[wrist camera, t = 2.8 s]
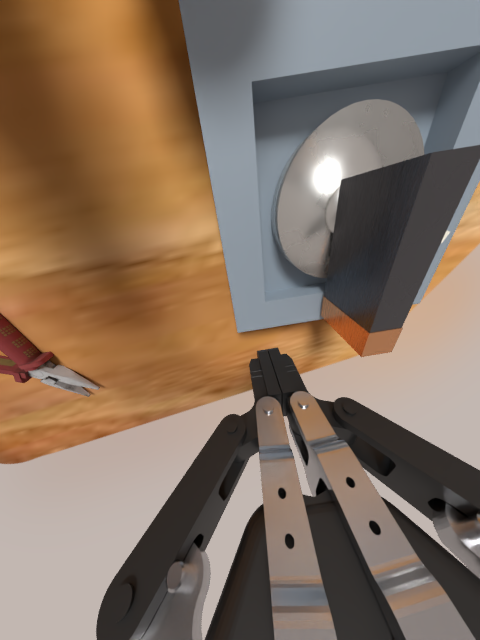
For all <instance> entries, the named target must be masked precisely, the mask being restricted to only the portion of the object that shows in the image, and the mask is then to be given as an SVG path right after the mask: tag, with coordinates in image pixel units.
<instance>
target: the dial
mask: <svg viewBox="0 0 480 640" xmlns="http://www.w3.org/2000/svg"><path fill="white" fill-rule="evenodd" d="M479 160H480V145H475V146H469V147H463V148H457V149H451V150H444V151H438V152H432V153H429V154H425V155H424V145H423V139H422V136H421V133H420V130H419V127H418V125H417V124H416V122H415V120H414V118H413V117H412V116H411V115H410V114H409V113H408V111H406V110H405V109H404V108H402V107H401V106H400V105H398V104H396V103H393V102H391V101H387V100H381V99H372V100H364V101H360V102H356V103H353V104H351V105H349V106H347V107H345V108H342V109H341V110H339V111H338V112H336V113H335V114H333V115H331V116H330V117H329V118H328V119H327V120H325V121H324V122H323V123H322V124H321V125H319V126H318V127H317V128H316V129H315V130H314V131H313V132H312V133H311V134H310V135H309V136H308V137H307V138H306V139H305V140H304V141H303V142H302V143H301V144H300V145H299V146H298V147H297V148H296V150H295V151H294V152H293V154H292V155H291V156H290V158H289V160H288V161H287V163H286V165H285V166H284V168H283V171H282V173H281V175H280V177H279V180H278V182H277V185H276V188H275V192H274V196H273V202H272V209H271V223H272V231H273V235H274V239H275V242H276V244H277V246H278V248H279V250H280V252H281V253H282V255H283V256H284V257H285V258H286V259H287V260H288V261H289V262H290V263H291V264H293V265H294V266H295V267H297V268H298V269H300V270H301V271H302V272H304V273H306V274H308V275H311V276H314V277H319V278H327V281H326V287H325V294H324V296H323V303H322V310H321V316H322V317H323V318H324V319H325V320H326V321H327V322H328V323H329V324H330V325H331V326H332V327H333V328H334V329H335V331H336V332H337V333H338V334H339V335H340V336H341V337H342V338H343V339H344V340H345V341H346V342H347V343H348V344H349V345H350V346H351V347H352V348H353V349H354V350H355V351H356V352H357V353H358V354H359V355H360V356H361V357H364V356H370V355H376V354H382V353H388V352H392V350H393V348H394V346H395V343H396V341H397V339H398V337H399V335H400V333H401V330H402V326H403V323H404V321H405V319H406V317H407V315H408V313H409V311H410V308H411V306H412V304H413V302H414V300H415V298H416V295H417V293H418V291H419V289H420V287H421V285H422V282H423V280H424V278H425V276H426V274H427V272H428V270H429V267H430V265H431V263H432V261H433V259H434V257H435V254H436V252H437V250H438V248H439V246H440V244H441V242H442V239H443V237H444V235H445V233H446V231H447V229H448V226H449V224H450V222H451V220H452V218H453V216H454V213H455V211H456V209H457V207H458V205H459V203H460V201H461V198H462V196H463V194H464V192H465V190H466V188H467V185H468V183H469V181H470V179H471V177H472V175H473V172H474V170H475V168H476V166H477V164H478V162H479Z"/></svg>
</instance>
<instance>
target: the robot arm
mask: <svg viewBox="0 0 480 640" xmlns="http://www.w3.org/2000/svg"><path fill="white" fill-rule="evenodd" d="M257 357H258V358H257V359H251V362H250V365H249V367H250V374H251V380H252V386H253V392H254V398H255V403H254V406H253V407H252V409H251V410H250V411H249V412H247V413H245V414H243V415H241V416H239V415H236V414H230V415H228V416H226V417H225V418H224V419H223V420H222V421H221V422H220V424H219V425H218V427H217V428H216V430H215V431H214V433H213V434H212V436H211V437H210V439H209V440H208V441H207V443H206V444H205V446H204V447H203V449H202V450H201V452H200V453H199V455H198V456H197V457H196V459H195V460H194V462H193V464H192V465H191V467H190V468H189V469H188V471H187V472H186V474H185V476H183V478H182V480H181V481H180V482H179V484H178V485H177V487H176V488H175V490H174V491H173V493H172V494H171V496H170V497H169V498H168V500H167V501H166V503H165V504H164V506H163V507H162V509H161V510H160V512H159V513H158V514H157V516H156V518H155V519H154V520H153V522H152V523H151V525H150V526H149V528H148V529H147V531H146V532H145V534H144V535H143V536H142V538H141V539H140V541H139V542H138V544H137V545H136V547H135V548H134V550H133V551H132V553H131V554H130V555H129V557H128V558H127V560H126V561H125V563H124V564H123V566H122V567H121V569H120V570H119V572H118V573H117V574H116V576H115V577H114V579H113V581H112V582H111V584H110V586H109V588H108V589H107V591H106V594H105V596H104V599H103V601H102V604H101V607H100V610H99V614H98V620H97V628H96V634H97V635H96V636H97V640H202V633H201V620H202V619H201V618H202V610H203V605H204V601H205V598H206V595H207V592H208V588H209V584H210V562H209V559H208V556H207V554H206V552H205V549H206V547H207V545H208V543H209V541H210V539H211V537H212V535H213V533H214V531H215V529H216V527H217V524H218V522H219V520H220V518H221V516H222V514H223V512H224V510H225V508H226V506H227V504H228V501H229V500H230V497H231V495H232V493H233V491H234V489H235V487H236V485H237V483H238V481H239V479H240V476H241V475H242V473H243V470H244V468H245V466H246V464H247V462H248V460H249V458H250V457H251V456H252V455H254V454H255V453H257V452H259V458H260V470H261V481H262V493H263V504H262V505H261V506H260V507H259V508H258V509H257V510H256V511H255V512H254V513H253V515H252V516H251V518H250V519H249V522H248V523H247V525H246V528H245V530H244V533H243V536H242V538H241V541H240V544H239V547H238V550H237V553H236V555H235V558H234V561H233V563H232V566H231V569H230V572H229V574H228V577H227V580H226V583H225V585H224V588H223V591H222V594H221V596H220V599H219V602H218V605H217V608H216V610H215V613H214V616H213V618H212V621H211V624H210V627H209V630H208V632H207V635H206V638H205V640H480V470H478V469H476V468H474V467H472V466H471V465H469V464H467V463H465V462H463V461H462V460H460V459H458V458H456V457H454V456H453V455H451V454H449V453H447V452H446V451H444V450H442V449H440V448H438V447H437V446H435V445H433V444H431V443H429V442H428V441H426V440H424V439H422V438H421V437H419V436H417V435H415V434H413V433H412V432H410V431H408V430H406V429H404V428H403V427H401V426H399V425H397V424H396V423H394V422H392V421H390V420H388V419H387V418H385V417H383V416H381V415H379V414H378V413H376V412H374V411H372V410H370V409H369V408H367V407H365V406H363V405H361V404H360V403H358V402H356V401H354V400H352V399H350V398H345V397H341V398H338V399H337V400H336V401H335V402H329V401H323V400H319V399H317V398H315V397H313V396H312V395H311V394H310V393H308V391H307V389H306V387H305V385H304V383H303V381H302V379H301V377H300V375H299V373H298V371H297V369H296V366H295V364H294V362H293V360H292V358H290V357H289V356H288V355H287V354H282V355H281V354H280V352H279V349H278V348H273V349H267V350H260V351H257ZM283 416H287V417H288V420H289V428H290V432H291V434H292V437H293V440H294V442H295V445H296V447H297V450H298V452H299V455H300V458H301V460H302V463H303V466H304V469H305V473H306V478H307V481H308V484H309V487H310V490H311V493H312V495H313V497H311V496H306V495H302V491H301V487H300V482H299V478H298V473H297V469H296V464H295V460H294V456H293V453H292V450H291V449H290V446H289V441H288V436H287V432H286V427H285V423H284V418H283ZM362 467H363V468H364V469H365V470H367V471H368V472H370V473H371V474H372V475H373V476H375V477H376V478H377V479H378V480H380V481H381V482H382V483H384V484H385V485H386V486H387V487H389V488H390V489H391V490H393V491H394V492H395V493H397V494H398V495H399V496H400V497H402V498H403V499H404V500H406V501H407V502H408V503H410V504H411V505H412V506H413V507H415V508H416V509H417V510H419V511H420V512H421V513H422V514H424V515H425V516H426V517H428V518H429V519H430V520H431V521H433V524H434V527H435V529H436V531H437V533H438V536H439V538H440V540H441V541H442V543H443V544H444V545H445V546H446V547H447V548H449V549H450V551H451V552H452V553H454V555H455V556H457V557H458V558H459V559H460V560H461V561H462V562H463V563H464V564H465V565H466V567H465V566H464V565H463V564H462V563H461V562H459V561H458V560H457V559H456V558H455V557H454V556H453V555H451V554H450V553H449V552H448V551H447V550H445V549H444V548H443V547H442V546H441V545H440V544H438V543H437V542H436V541H435V540H434V539H433V538H431V537H430V536H429V535H428V534H427V533H425V532H424V531H423V530H422V529H421V528H420V527H419V526H417V525H416V524H415V523H414V522H412V521H411V520H410V519H409V518H408V517H407V516H406V515H404V514H403V513H402V512H401V511H400V510H399V509H397V508H396V507H395V506H394V505H392V504H391V503H390V502H388V501H387V500H386V499H384V498H382V497H381V496H380V495H379V493H378V492H377V490H376V489H375V487H374V485H373V484H372V482H371V481H370V479H369V477H368V476H367V474H366V472H365V471H364V469H363V468H362ZM467 567H468V568H467Z"/></svg>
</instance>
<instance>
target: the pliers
mask: <svg viewBox="0 0 480 640" xmlns="http://www.w3.org/2000/svg"><path fill="white" fill-rule="evenodd" d="M0 350H1V351H2V352H3V353H4V354H5V355H7V356H8V357H6V356H0V373H3V374H9V375H13V376H14V378H15V381H16V382H20V383H25V382H27V381H28V380H29V379H30V378H32V377H34V378H37V379H42V380H41V382H43V383H45V384H48V385H50V386H53V387H57V388H60V389H64V390H67V391H71V392H74V393H78V394H81V395H85V396H88V397H89V396H90V394H89V393H88V392H87V391H86V390H84V389H83V388H82V387H87V388H92V389H97V390H98V389H99V388H100V387H98V386H97V385H95V384H93V383H92V382H90V381H88V380H87V379H85V378H83V377H82V376H80V375H79V374H77V373H75V372H74V371H72V370H70V369H68V368H66V367H64V366H62V365H59V364H58V365H57V366H55V364H53V363H52V362H50V361H49V359H50V358H51V357H53V356H54V354H53V353H52V352H45V353H41V352H40V351H39V350H38V349H37V348H36V347H35V346H34V345H33V344H31V343H30V342H29V341H28V340H27V339H26V338H25V337H24V336H23V335H22V334H21V333H20V332H19V331H18V330H17V329H16V328H15V327H14V326H13V325H12V324H10V323H9V322H8V321H7V320H6V319H5V318H4V317H3V316H2V315H1V314H0Z"/></svg>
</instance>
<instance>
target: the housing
mask: <svg viewBox="0 0 480 640" xmlns="http://www.w3.org/2000/svg"><path fill="white" fill-rule="evenodd" d="M179 6H180V11H181V17H182V22H183V28H184V34H185V39H186V45H187V50H188V56H189V62H190V67H191V73H192V78H193V84H194V90H195V95H196V101H197V107H198V112H199V118H200V123H201V129H202V135H203V140H204V146H205V151H206V157H207V163H208V168H209V174H210V179H211V185H212V191H213V196H214V202H215V207H216V213H217V219H218V224H219V230H220V235H221V241H222V247H223V252H224V258H225V263H226V269H227V275H228V280H229V286H230V291H231V297H232V303H233V308H234V314H235V320H236V325H237V331H238V333H240V332H246V331H252V330H258V329H264V328H271V327H277V326H283V325H289V324H295V323H301V322H307V321H314V320H320V319H324V318H323V317H322V316H321V310H322V303H323V296H324V294H325V287H326V281H327V278H319V277H314V276H311V275H308V274H306V273H304V272H302V271H301V270H300V269H298V268H297V267H295V266H294V265H293V264H291V263H290V262H289V261H288V260H287V259H286V258H285V257H284V256H283V255H282V253H281V252H280V250H279V248H278V246H277V244H276V242H275V239H274V235H273V231H272V223H271V209H272V202H273V196H274V192H275V188H276V185H277V182H278V180H279V177H280V175H281V173H282V171H283V168H284V166H285V165H286V163H287V161H288V160H289V158H290V156H291V155H292V154H293V152H294V151H295V150H296V148H297V147H298V146H299V145H300V144H301V143H302V142H303V141H304V140H305V139H306V138H307V137H308V136H309V135H310V134H311V133H312V132H313V131H314V130H315V129H316V128H317V127H318V126H319V125H321V124H322V123H323V122H324V121H325V120H327V119H328V118H329V117H330V116H331V115H333V114H335V113H336V112H338V111H339V110H341V109H342V108H345V107H347V106H349V105H351V104H353V103H356V102H360V101H364V100H372V99H381V100H387V101H391V102H393V103H396V104H398V105H400V106H401V107H402V108H404V109H405V110H406V111H408V113H409V114H410V115H411V116H412V117H413V118H414V120H415V122H416V124H417V125H418V127H419V130H420V133H421V136H422V139H423V145H424V155H425V154H429V153H432V152H438V151H444V150H451V149H457V148H463V147H469V146H475V145H480V0H179ZM479 181H480V160H479V162H478V164H477V166H476V168H475V170H474V172H473V175H472V177H471V179H470V181H469V183H468V185H467V188H466V190H465V192H464V194H463V196H462V198H461V201H460V203H459V205H458V207H457V209H456V211H455V213H454V216H453V218H452V220H451V222H450V224H449V226H448V229H447V231H446V233H445V235H444V237H443V239H442V242H441V244H440V246H439V248H438V250H437V252H436V254H435V257H434V259H433V261H432V263H431V265H430V267H429V270H428V272H427V274H426V276H425V278H424V280H423V282H422V285H421V287H420V289H419V291H418V293H417V295H416V298H415V300H414V302H413V304H418V303H420V302H421V300H422V298H423V295H424V293H425V291H426V289H427V287H428V285H429V283H430V281H431V279H432V277H433V275H434V273H435V271H436V269H437V267H438V265H439V263H440V261H441V259H442V257H443V255H444V252H445V250H446V248H447V246H448V244H449V242H450V240H451V238H452V236H453V234H454V232H455V230H456V228H457V226H458V224H459V222H460V220H461V218H462V216H463V214H464V211H465V209H466V207H467V205H468V203H469V201H470V199H471V197H472V195H473V193H474V191H475V189H476V187H477V185H478V183H479Z"/></svg>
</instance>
